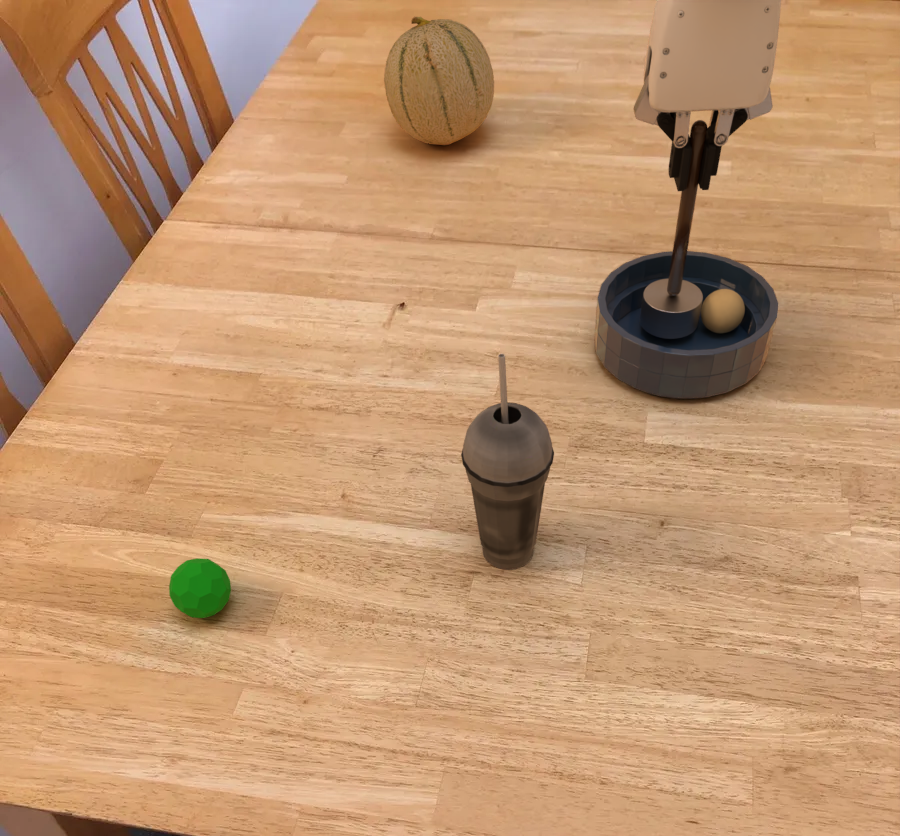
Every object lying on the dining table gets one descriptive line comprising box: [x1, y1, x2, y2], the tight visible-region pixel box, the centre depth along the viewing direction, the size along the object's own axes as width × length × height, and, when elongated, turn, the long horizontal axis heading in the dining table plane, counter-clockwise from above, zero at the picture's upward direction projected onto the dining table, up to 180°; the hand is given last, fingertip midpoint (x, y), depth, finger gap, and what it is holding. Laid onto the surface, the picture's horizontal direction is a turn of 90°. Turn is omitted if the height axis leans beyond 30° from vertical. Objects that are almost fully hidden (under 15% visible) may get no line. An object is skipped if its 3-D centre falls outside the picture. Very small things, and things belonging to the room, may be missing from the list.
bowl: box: [593, 250, 779, 400], centre depth 95 cm, size 18×18×6 cm
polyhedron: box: [168, 557, 232, 619], centre depth 77 cm, size 5×5×5 cm
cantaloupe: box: [383, 16, 495, 146], centre depth 122 cm, size 15×15×15 cm
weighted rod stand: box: [640, 119, 708, 339], centre depth 89 cm, size 6×6×21 cm
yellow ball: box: [701, 289, 745, 333], centre depth 96 cm, size 4×4×4 cm
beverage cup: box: [460, 353, 555, 571], centre depth 73 cm, size 7×7×20 cm
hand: (690, 182), depth 85 cm, fingers closed on weighted rod stand, 1 cm apart
